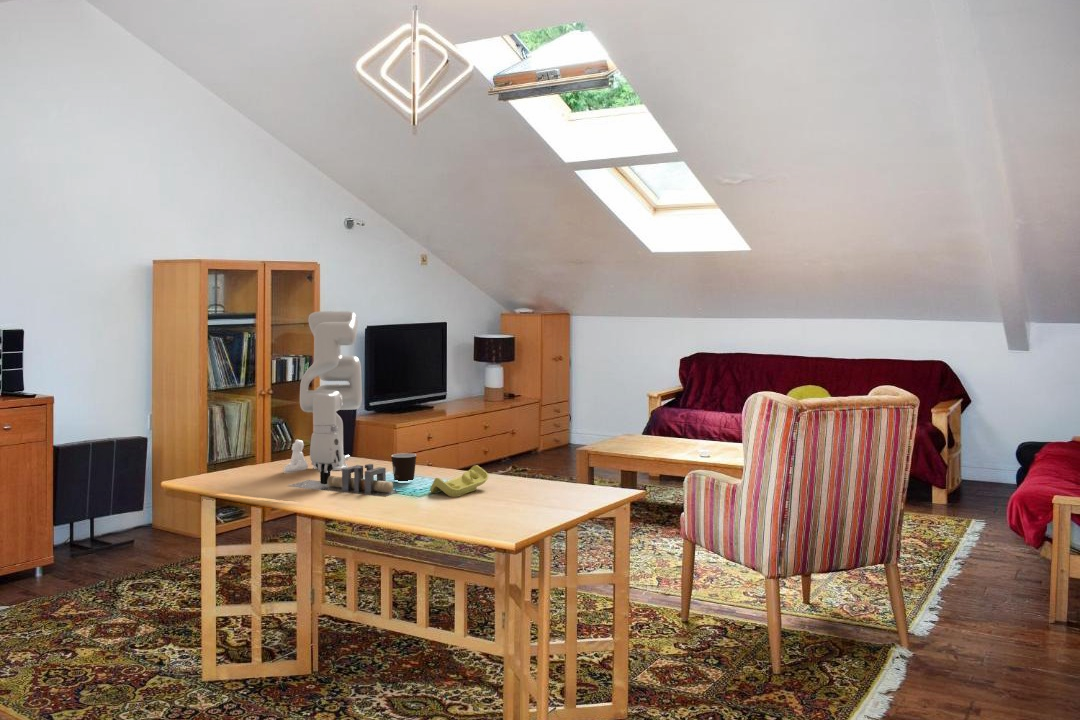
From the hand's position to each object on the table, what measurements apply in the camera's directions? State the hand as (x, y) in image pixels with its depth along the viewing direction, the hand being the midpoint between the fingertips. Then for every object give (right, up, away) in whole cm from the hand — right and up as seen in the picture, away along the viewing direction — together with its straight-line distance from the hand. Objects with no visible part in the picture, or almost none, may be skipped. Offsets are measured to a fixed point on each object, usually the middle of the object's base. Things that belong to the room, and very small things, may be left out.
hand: (325, 483), depth 325 cm
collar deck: (+8, -2, -3) cm, 8 cm away
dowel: (+13, -1, -6) cm, 14 cm away
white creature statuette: (-18, 0, +32) cm, 37 cm away
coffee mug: (+26, -1, +9) cm, 27 cm away
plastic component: (+46, -3, -4) cm, 47 cm away
